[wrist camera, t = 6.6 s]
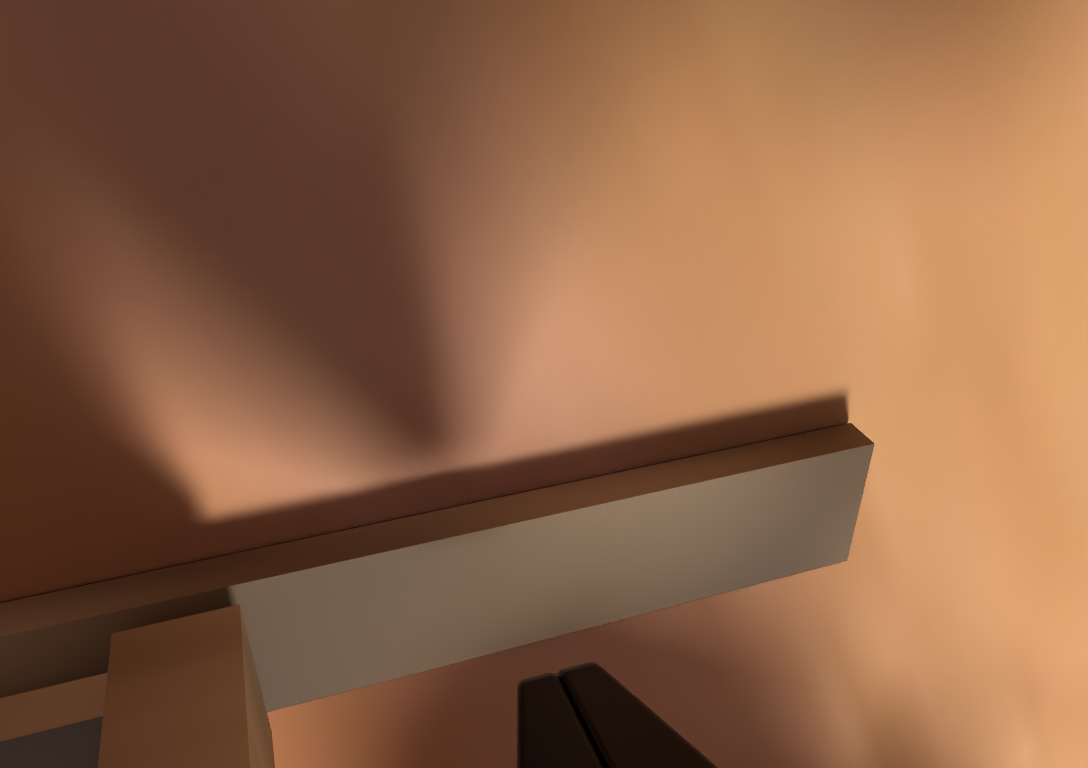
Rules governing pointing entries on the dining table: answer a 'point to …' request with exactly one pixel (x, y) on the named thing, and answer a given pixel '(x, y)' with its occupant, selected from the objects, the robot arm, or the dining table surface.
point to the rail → (475, 571)
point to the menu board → (150, 704)
